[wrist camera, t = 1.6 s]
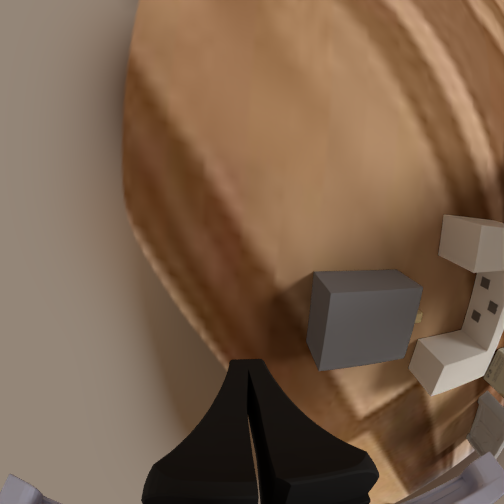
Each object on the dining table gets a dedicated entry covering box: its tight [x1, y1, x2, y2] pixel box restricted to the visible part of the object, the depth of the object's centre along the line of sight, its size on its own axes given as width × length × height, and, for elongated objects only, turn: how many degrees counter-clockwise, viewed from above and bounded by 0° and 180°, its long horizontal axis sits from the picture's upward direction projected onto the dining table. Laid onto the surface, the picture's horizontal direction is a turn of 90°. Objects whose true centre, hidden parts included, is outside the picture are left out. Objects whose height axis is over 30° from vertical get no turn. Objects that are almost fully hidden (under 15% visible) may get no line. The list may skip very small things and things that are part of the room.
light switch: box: [466, 391, 504, 459], centre depth 21 cm, size 2×12×8 cm, turn 22°
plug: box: [306, 270, 423, 371], centre depth 16 cm, size 7×5×4 cm
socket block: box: [408, 214, 504, 396], centre depth 17 cm, size 7×13×4 cm, turn 179°
